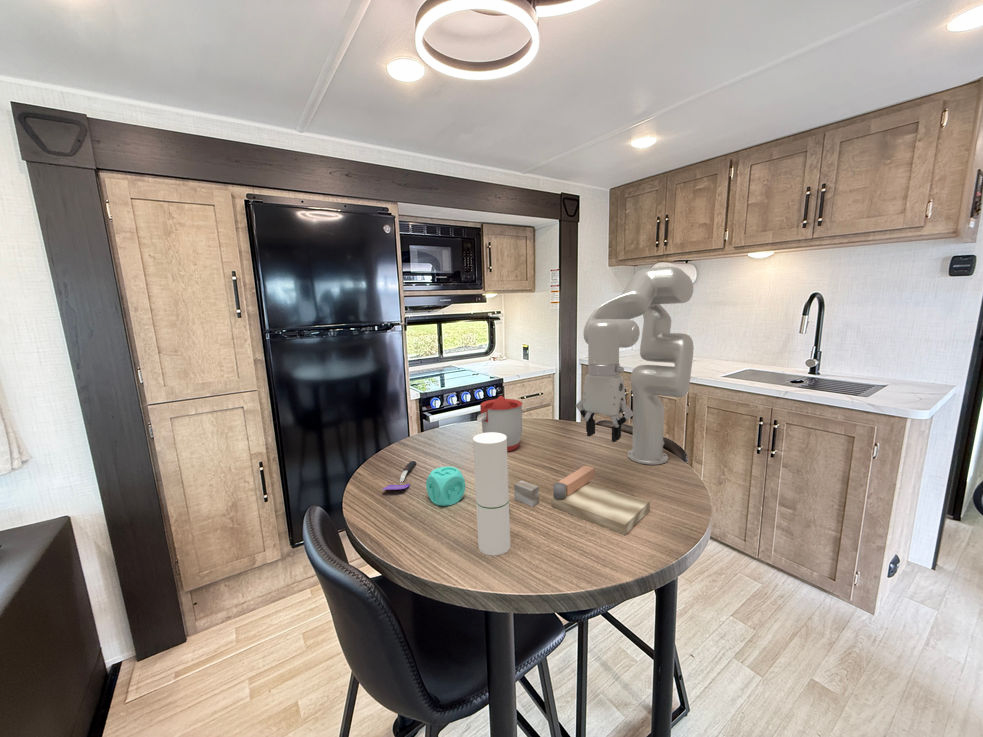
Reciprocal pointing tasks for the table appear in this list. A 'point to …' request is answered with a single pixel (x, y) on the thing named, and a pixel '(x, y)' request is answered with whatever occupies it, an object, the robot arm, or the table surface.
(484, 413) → the citrus juicer
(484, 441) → the cylindrical container
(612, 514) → the stool seat
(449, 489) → the decorative dice
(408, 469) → the spatula
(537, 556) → the table surface
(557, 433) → the table surface
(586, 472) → the stool leg
